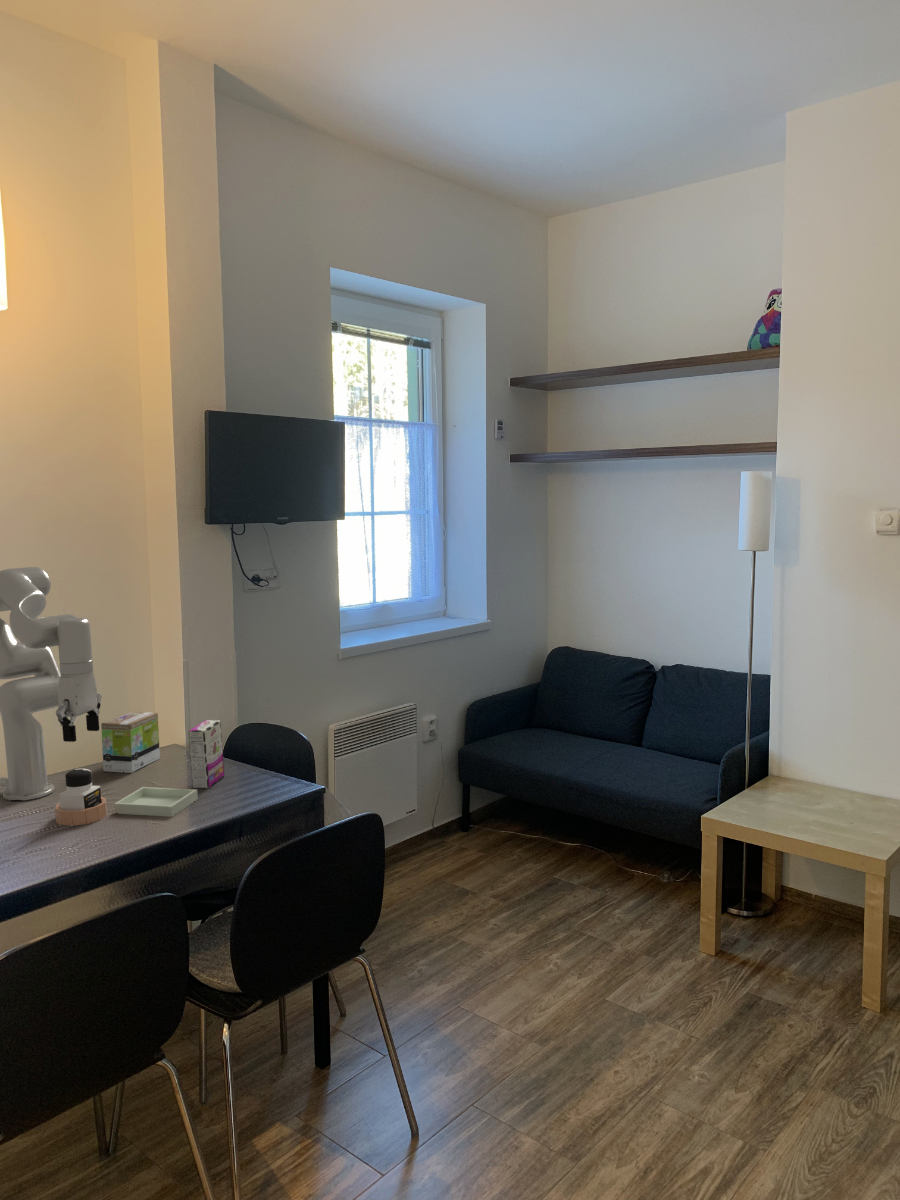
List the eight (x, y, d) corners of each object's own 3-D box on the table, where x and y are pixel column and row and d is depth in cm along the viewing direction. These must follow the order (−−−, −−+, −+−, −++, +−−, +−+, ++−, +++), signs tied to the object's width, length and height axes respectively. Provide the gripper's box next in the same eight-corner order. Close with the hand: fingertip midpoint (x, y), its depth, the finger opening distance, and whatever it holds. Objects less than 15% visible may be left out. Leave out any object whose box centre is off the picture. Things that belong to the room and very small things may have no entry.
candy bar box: (208, 775, 258) (204, 719, 256) (225, 776, 257) (221, 719, 255) (191, 788, 247) (187, 730, 245) (208, 789, 246) (204, 730, 244)
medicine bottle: (86, 822, 223) (82, 775, 221) (60, 821, 224) (56, 774, 223) (102, 812, 230) (99, 766, 228) (77, 811, 231) (74, 765, 230)
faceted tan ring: (46, 824, 223) (45, 810, 222) (75, 807, 234) (74, 794, 233) (88, 826, 220) (87, 812, 220) (115, 810, 231) (114, 796, 231)
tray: (114, 813, 229) (114, 803, 228) (143, 796, 241) (142, 786, 241) (172, 816, 225) (171, 806, 225) (197, 799, 238) (197, 789, 237)
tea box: (133, 773, 262) (129, 723, 260) (102, 772, 264) (99, 722, 262) (161, 758, 276) (158, 711, 275) (132, 757, 279) (128, 710, 277)
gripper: (83, 661, 232) (88, 726, 234) (40, 675, 215) (46, 745, 217) (110, 661, 231) (114, 727, 233) (69, 675, 214) (74, 746, 216)
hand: (81, 735), depth 225 cm, fingers open, 9 cm apart
